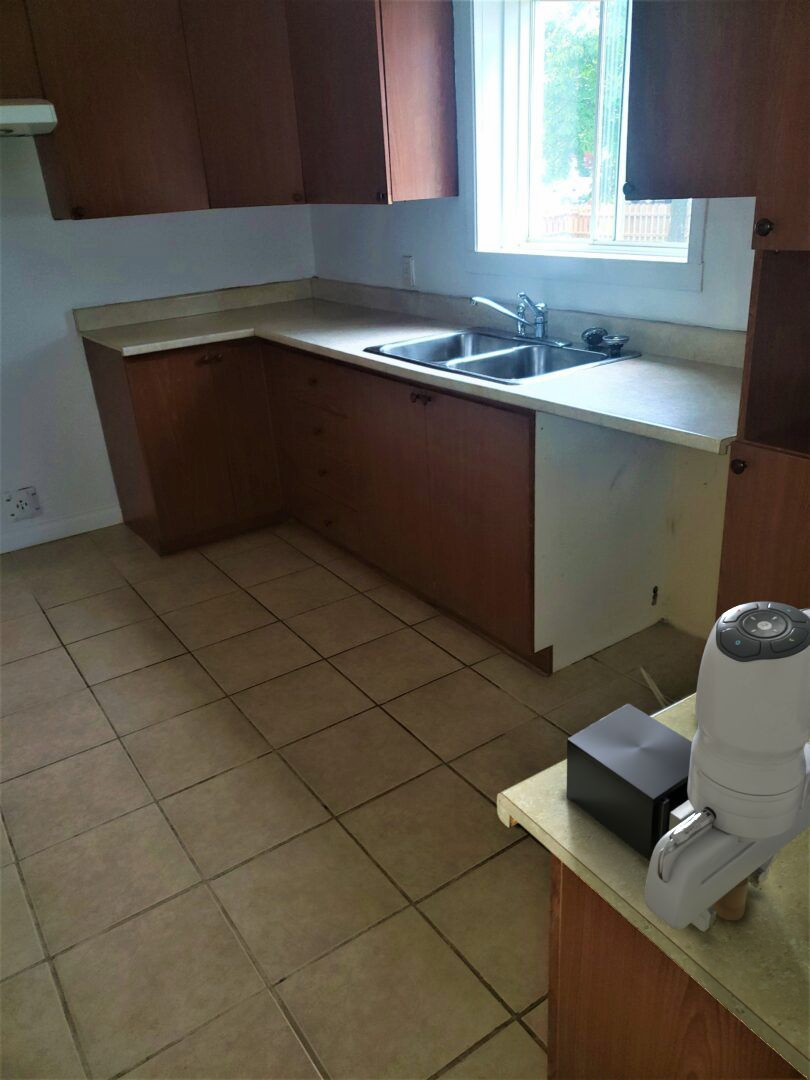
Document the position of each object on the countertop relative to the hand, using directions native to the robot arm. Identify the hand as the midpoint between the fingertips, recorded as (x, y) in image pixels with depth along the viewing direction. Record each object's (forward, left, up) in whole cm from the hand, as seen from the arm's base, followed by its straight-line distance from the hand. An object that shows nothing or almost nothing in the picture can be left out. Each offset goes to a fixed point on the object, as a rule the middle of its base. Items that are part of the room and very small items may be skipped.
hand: (728, 900), depth 75 cm
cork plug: (0, 0, -2) cm, 2 cm away
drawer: (+8, -7, -1) cm, 10 cm away
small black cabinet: (+11, -9, -2) cm, 14 cm away
